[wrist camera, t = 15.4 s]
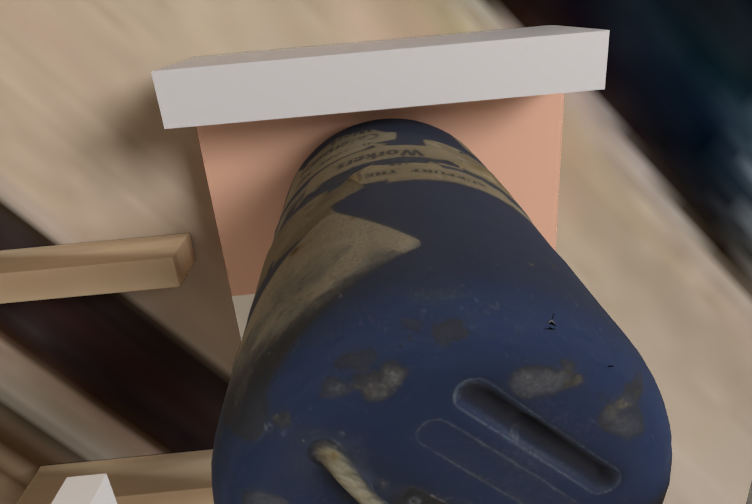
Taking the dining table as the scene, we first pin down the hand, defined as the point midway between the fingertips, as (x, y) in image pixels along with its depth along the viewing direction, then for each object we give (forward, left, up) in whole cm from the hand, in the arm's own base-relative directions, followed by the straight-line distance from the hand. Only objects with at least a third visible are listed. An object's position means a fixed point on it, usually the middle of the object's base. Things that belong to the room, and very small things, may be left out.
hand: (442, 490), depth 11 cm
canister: (0, 0, -16) cm, 16 cm away
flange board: (-3, 0, -18) cm, 18 cm away
